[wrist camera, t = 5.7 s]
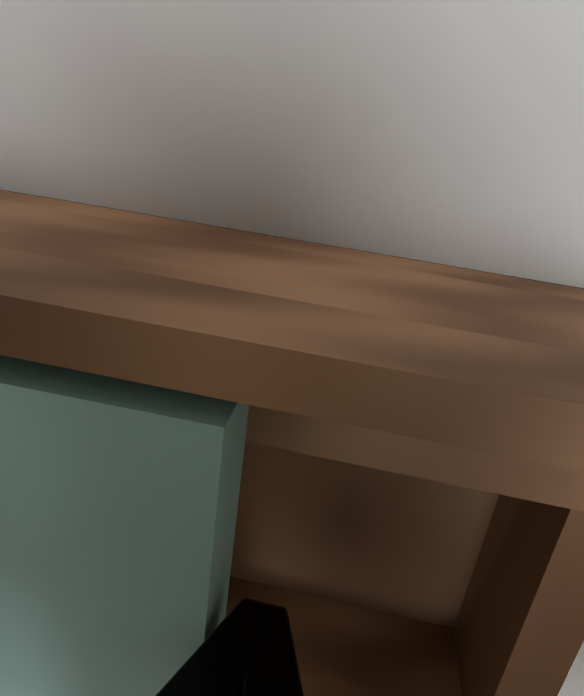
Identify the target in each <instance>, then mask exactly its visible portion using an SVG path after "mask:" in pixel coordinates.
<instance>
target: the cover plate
mask: <svg viewBox="0 0 584 696" xmlns="http://www.w3.org/2000/svg"><path fill="white" fill-rule="evenodd" d="M248 411H249V405H248V404H243V403H238V402H233V401H228V400H223V399H218V398H213V397H208V396H203V395H198V394H193V393H188V392H183V391H178V390H173V389H168V388H163V387H158V386H153V385H148V384H143V383H138V382H133V381H128V380H123V379H118V378H113V377H108V376H103V375H98V374H93V373H88V372H83V371H78V370H73V369H68V368H63V367H58V366H53V365H48V364H43V363H38V362H33V361H28V360H23V359H18V358H13V357H8V356H3V355H0V696H155V695H156V694H157V693H158V692H159V691H160V690H161V689H162V688H163V687H164V685H165V684H166V683H167V682H168V681H169V680H170V679H171V678H172V676H173V675H174V674H175V673H176V672H177V671H178V670H179V669H180V668H181V666H182V665H183V664H184V663H185V662H186V661H187V660H188V659H189V658H190V656H191V655H192V654H193V653H194V652H195V651H196V650H197V649H198V647H199V646H200V645H201V644H202V643H203V642H204V641H205V640H206V639H207V637H208V636H209V635H210V634H211V633H212V632H213V631H214V630H215V628H216V627H217V626H218V625H219V624H220V623H221V622H222V621H223V620H224V618H225V616H226V607H227V598H228V589H229V581H230V572H231V563H232V554H233V545H234V536H235V527H236V518H237V509H238V500H239V491H240V482H241V473H242V464H243V455H244V446H245V437H246V429H247V420H248Z"/></svg>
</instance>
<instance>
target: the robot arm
mask: <svg viewBox="0 0 584 696" xmlns="http://www.w3.org/2000/svg"><path fill="white" fill-rule="evenodd" d="M155 696H304V694H303V689H302V684H301V678H300V673H299V668H298V663H297V658H296V652H295V647H294V642H293V637H292V631H291V626H290V621H289V616H288V611H287V609H286V608H285V607H283V606H280V605H275V604H271V603H265V602H263V601H259V600H255V599H251V598H243V599H242V600H241V601H240V602H239V603H238V604H237V605H236V606H235V607H234V608H233V609H232V611H231V612H230V613H229V614H228V615H227V616H226V617H225V618H224V620H223V621H222V622H221V623H220V624H219V625H218V626H217V627H216V628H215V630H214V631H213V632H212V633H211V634H210V635H209V636H208V637H207V639H206V640H205V641H204V642H203V643H202V644H201V645H200V646H199V647H198V649H197V650H196V651H195V652H194V653H193V654H192V655H191V656H190V658H189V659H188V660H187V661H186V662H185V663H184V664H183V665H182V666H181V668H180V669H179V670H178V671H177V672H176V673H175V674H174V675H173V676H172V678H171V679H170V680H169V681H168V682H167V683H166V684H165V685H164V687H163V688H162V689H161V690H160V691H159V692H158V693H157V694H156V695H155Z"/></svg>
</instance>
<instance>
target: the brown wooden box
mask: <svg viewBox="0 0 584 696" xmlns="http://www.w3.org/2000/svg"><path fill="white" fill-rule="evenodd" d="M0 355H3V356H8V357H13V358H18V359H23V360H28V361H33V362H38V363H43V364H48V365H53V366H58V367H63V368H68V369H73V370H78V371H83V372H88V373H93V374H98V375H103V376H108V377H113V378H118V379H123V380H128V381H133V382H138V383H143V384H148V385H153V386H158V387H163V388H168V389H173V390H178V391H183V392H188V393H193V394H198V395H203V396H208V397H213V398H218V399H223V400H228V401H233V402H238V403H243V404H248V405H249V411H248V420H247V429H246V437H245V446H244V455H243V464H242V473H241V482H240V491H239V500H238V509H237V518H236V527H235V536H234V545H233V554H232V563H231V572H230V581H229V589H228V598H227V607H226V616H227V615H228V614H229V613H230V612H231V611H232V609H233V608H234V607H235V606H236V605H237V604H238V603H239V602H240V601H241V600H242V599H243V598H251V599H255V600H259V601H263V602H265V603H271V604H275V605H280V606H283V607H285V608H286V609H287V611H288V616H289V621H290V626H291V631H292V637H293V642H294V647H295V652H296V658H297V663H298V668H299V673H300V678H301V684H302V689H303V694H304V696H557V695H558V693H559V691H560V689H561V687H562V684H563V682H564V680H565V678H566V676H567V674H568V672H569V670H570V668H571V665H572V663H573V661H574V659H575V657H576V655H577V653H578V651H579V649H580V647H581V644H582V642H583V640H584V289H582V288H576V287H571V286H565V285H559V284H553V283H547V282H541V281H535V280H529V279H523V278H517V277H511V276H506V275H500V274H494V273H488V272H482V271H476V270H470V269H464V268H458V267H452V266H447V265H441V264H435V263H429V262H423V261H417V260H411V259H405V258H399V257H393V256H387V255H382V254H376V253H370V252H364V251H358V250H352V249H346V248H340V247H334V246H328V245H323V244H317V243H311V242H305V241H299V240H293V239H287V238H281V237H275V236H269V235H263V234H258V233H252V232H246V231H240V230H234V229H228V228H222V227H216V226H210V225H204V224H198V223H193V222H187V221H181V220H175V219H169V218H163V217H157V216H151V215H145V214H139V213H134V212H128V211H122V210H116V209H110V208H104V207H98V206H92V205H86V204H80V203H74V202H69V201H63V200H57V199H51V198H45V197H39V196H33V195H27V194H21V193H15V192H10V191H4V190H0ZM226 616H225V617H226Z"/></svg>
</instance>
